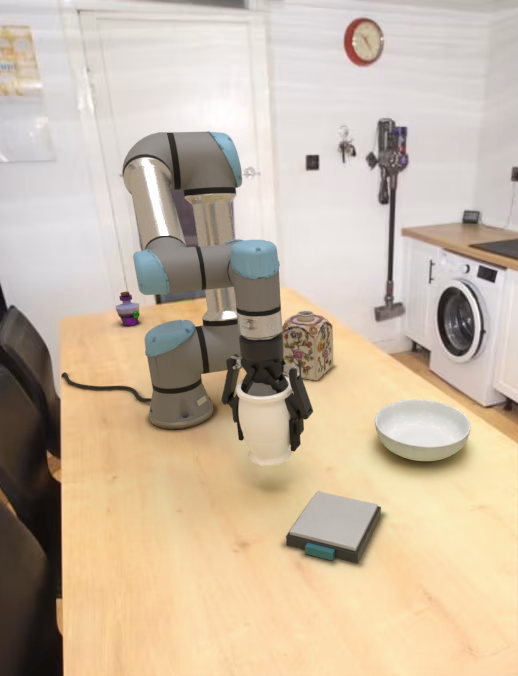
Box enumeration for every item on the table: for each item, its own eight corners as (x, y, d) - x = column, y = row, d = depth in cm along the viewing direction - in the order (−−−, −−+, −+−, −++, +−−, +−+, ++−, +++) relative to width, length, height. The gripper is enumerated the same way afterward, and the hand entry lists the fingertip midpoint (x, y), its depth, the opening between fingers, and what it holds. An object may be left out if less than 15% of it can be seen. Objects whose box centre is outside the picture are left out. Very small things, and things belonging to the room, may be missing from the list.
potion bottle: (138, 328, 194) (132, 295, 189) (114, 328, 194) (107, 295, 189) (146, 320, 202) (141, 288, 197) (123, 320, 202) (117, 288, 197)
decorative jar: (281, 375, 156) (277, 316, 149) (299, 360, 166) (296, 304, 158) (318, 382, 152) (316, 321, 145) (335, 366, 162) (333, 308, 154)
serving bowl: (407, 485, 108) (408, 456, 105) (358, 437, 125) (358, 411, 122) (488, 457, 117) (491, 430, 114) (432, 416, 134) (433, 391, 131)
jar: (287, 473, 99) (283, 401, 92) (234, 467, 100) (226, 395, 94) (303, 443, 108) (300, 375, 101) (255, 437, 110) (248, 370, 103)
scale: (283, 548, 92) (282, 536, 91) (316, 500, 104) (316, 488, 103) (355, 567, 88) (355, 554, 87) (380, 515, 100) (381, 503, 99)
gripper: (191, 332, 93) (206, 441, 103) (312, 349, 86) (316, 464, 96) (215, 318, 100) (227, 422, 110) (330, 334, 93) (332, 443, 103)
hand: (269, 442), depth 103 cm, fingers closed on jar, 10 cm apart
